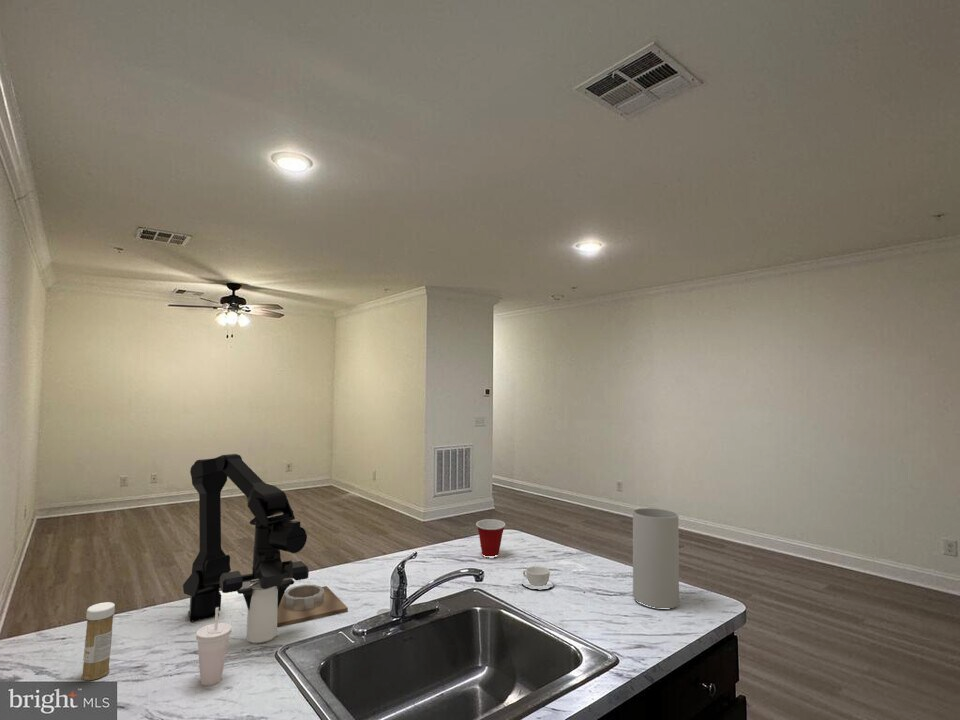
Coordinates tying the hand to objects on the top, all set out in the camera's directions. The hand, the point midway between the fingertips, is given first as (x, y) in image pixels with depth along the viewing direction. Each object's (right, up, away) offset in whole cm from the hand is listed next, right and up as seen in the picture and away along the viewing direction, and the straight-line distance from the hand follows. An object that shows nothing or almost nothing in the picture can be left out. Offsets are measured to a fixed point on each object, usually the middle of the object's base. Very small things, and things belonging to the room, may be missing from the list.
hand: (263, 613), depth 118 cm
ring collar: (+3, -7, +18) cm, 19 cm away
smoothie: (-3, -4, -18) cm, 19 cm away
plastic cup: (+54, -12, +65) cm, 85 cm away
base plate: (+3, -7, +18) cm, 19 cm away
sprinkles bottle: (-26, -4, -17) cm, 32 cm away
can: (0, -6, 0) cm, 6 cm away
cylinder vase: (+101, -10, +26) cm, 105 cm away
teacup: (+69, -11, +37) cm, 79 cm away
